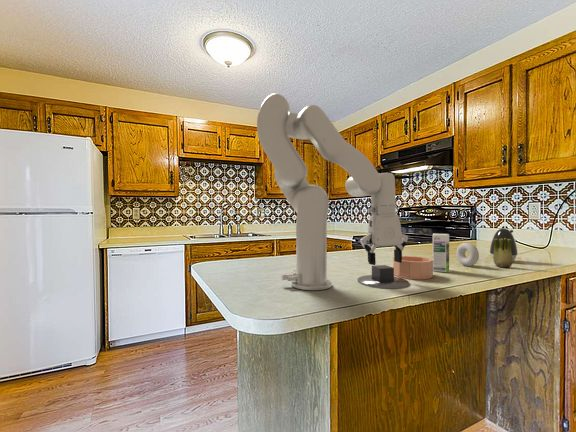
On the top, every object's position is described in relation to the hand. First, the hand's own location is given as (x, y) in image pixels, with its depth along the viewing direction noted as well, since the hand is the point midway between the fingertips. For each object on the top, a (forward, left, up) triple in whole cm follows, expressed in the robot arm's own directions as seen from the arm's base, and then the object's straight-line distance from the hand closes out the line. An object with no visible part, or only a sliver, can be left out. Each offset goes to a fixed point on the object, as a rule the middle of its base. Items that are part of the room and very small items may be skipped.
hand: (385, 263), depth 95 cm
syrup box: (+31, +10, -7) cm, 33 cm away
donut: (+49, +15, -7) cm, 52 cm away
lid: (-1, 0, -7) cm, 7 cm away
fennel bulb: (+61, +9, -7) cm, 62 cm away
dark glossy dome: (+75, +20, -7) cm, 78 cm away
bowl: (+15, +6, -6) cm, 17 cm away
